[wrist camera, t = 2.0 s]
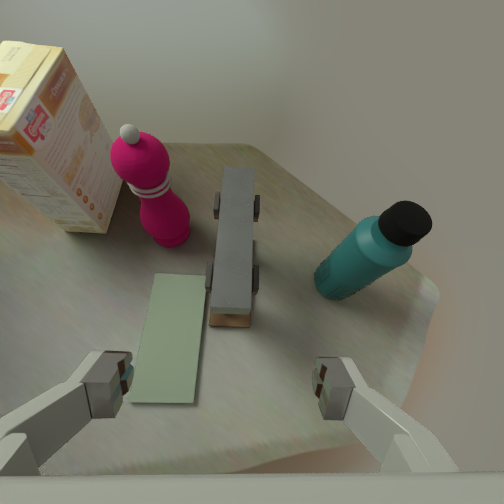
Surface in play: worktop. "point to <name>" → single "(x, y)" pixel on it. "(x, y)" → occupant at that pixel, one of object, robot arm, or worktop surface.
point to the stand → (215, 318)
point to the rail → (234, 244)
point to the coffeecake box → (54, 139)
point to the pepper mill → (151, 185)
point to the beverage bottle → (372, 249)
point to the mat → (170, 341)
